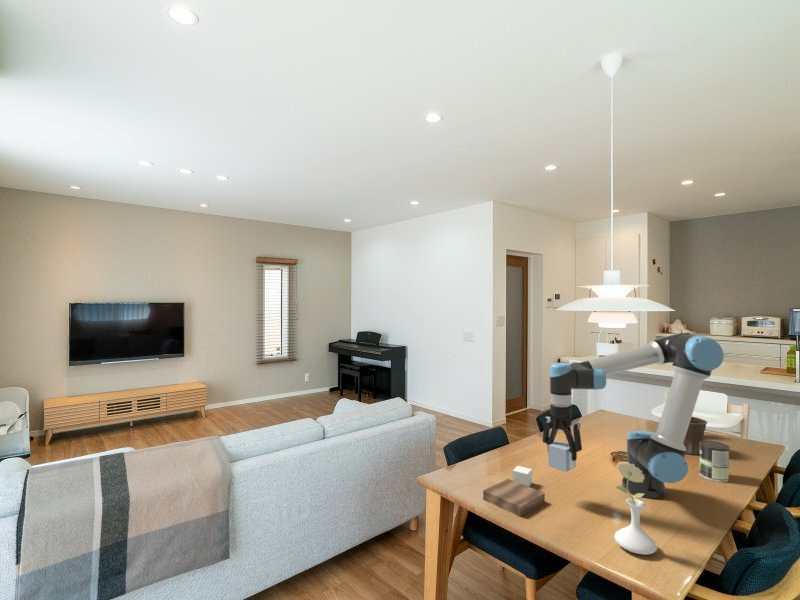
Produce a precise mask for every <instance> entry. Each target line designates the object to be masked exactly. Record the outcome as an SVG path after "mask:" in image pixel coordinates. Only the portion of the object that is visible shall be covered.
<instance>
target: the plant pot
mask: <svg viewBox="0 0 800 600" xmlns="http://www.w3.org/2000/svg"><path fill="white" fill-rule="evenodd" d="M707 424H708V421H707V420H705V419H703V418H700V417H697V416H692V417H691V420H690V423H689V426H688V429H687V433H686V436H685V439H684V442H683V444H684V446H685V448H686V449H687V450H686V453H685V455H691V456H693V455H695V456H698V455H700V444H699V442H700V441H703V440H704V436H705V435H704V434H705V431H706V428H707Z"/></svg>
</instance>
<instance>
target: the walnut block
mask: <svg viewBox="0 0 800 600" xmlns="http://www.w3.org/2000/svg"><path fill="white" fill-rule="evenodd" d="M482 494H483V496H482V500H483V501H485V502H487V503H489V504H491V505H494V506H495V507H498V508H499V509H502V510H504V511H506V512H508V513H511V514H513V515H515V516H517V517H522V516H525V515H526V514H528V513H529V512H531V511H533V510H535V509H536V508H538V507H539V506H541V505H543V504H545V499H546V498H545V492H543V491H540V490H538V489H535V488H533V487H531V486H529V487H528V486H525V485H523V484H520V483H518V482H515V481H513V479H511V478H507V479H504V480H503V481H500V482H498V483H496V484H494V485H492V486H489V487H488V488H486V489H484V490H483V492H482Z"/></svg>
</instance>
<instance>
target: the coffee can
mask: <svg viewBox="0 0 800 600" xmlns="http://www.w3.org/2000/svg"><path fill="white" fill-rule="evenodd" d="M699 444H700V454H699V467H698V468H699V470H698V471H699V472H698V473H699V474H698V475H699V476H700V477H702V478H704V479H706V480H707V481H708V480H709V481H712V482H719V483H726V482H729V480H730V475H729V472H730V469H729V468H730V466H729V465H730V464H729V463H730V461H729V460H730V446H729V445H728V444H725V443H723V442H720V441H716V440H708V439H706V440H705V439H703V441H700V442H699Z"/></svg>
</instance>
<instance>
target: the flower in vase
mask: <svg viewBox="0 0 800 600" xmlns="http://www.w3.org/2000/svg"><path fill="white" fill-rule="evenodd" d="M616 469H617V470H618V472H619V473H620V475H621V476H624V477H625V478H628V480H627V489H626V488H625V487H623V486H622V484H621V485H620V484H619V485H617V486H616V487H615V488H616V489H618V490H620V491H622V492H623V493H625V494H626V493H628V494H629V496H630V498H627V499H626V500H625V502H626V503H627V504H628V506H629V509H630V516H631V519H630V520H631V521H630V524H628V525H627V526H625V527H622V528H620V529H619V530H617V531H616V532H615V534H614V540H615V542H616V543H617V544H618V545H619V546H620V547H621V548H623V549H625V550H627V551H629V552H630V553H633V554H637V555H638V554H639V555H646V556H647V555H653V554H654V553H656V552H657V550H658V544H657V543H656V541H655V540H654V539H653V538H652V537H651V535H649V533H647V532H646V531H645V530H643V529H642V527H641V523H640V521H641V520H640V519H641V513H642V509H643V508H644V507H645V506H646V503H645V502H644V501H642V500H640V499H639V498H641V497H642V496H643V495H644V494H645V493H644V494H642V493H638V494H633V496H632V493H630V492H629V490H628V481H629V480H630V481H633V482H638V483H639V482H643V480H644V479H645V477H644V475H643V474H642V471H641V470H640V469H639V468H636V467H635V465H634V464H630V463H629V462H627V461H619V462H617V465H616ZM642 498H643V497H642Z"/></svg>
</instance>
